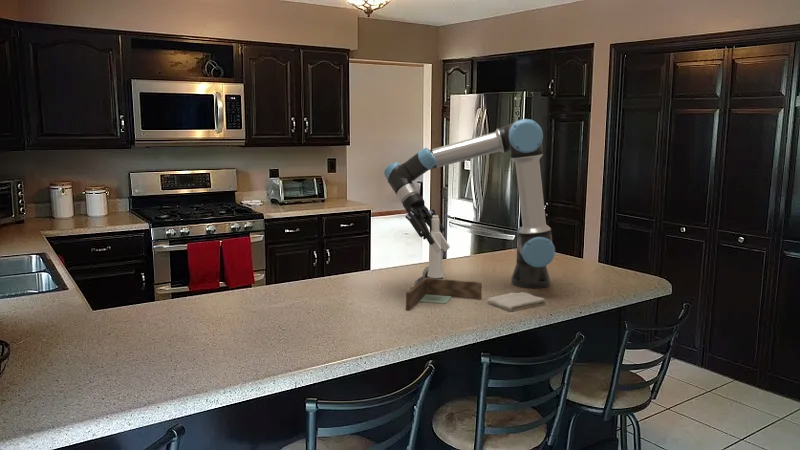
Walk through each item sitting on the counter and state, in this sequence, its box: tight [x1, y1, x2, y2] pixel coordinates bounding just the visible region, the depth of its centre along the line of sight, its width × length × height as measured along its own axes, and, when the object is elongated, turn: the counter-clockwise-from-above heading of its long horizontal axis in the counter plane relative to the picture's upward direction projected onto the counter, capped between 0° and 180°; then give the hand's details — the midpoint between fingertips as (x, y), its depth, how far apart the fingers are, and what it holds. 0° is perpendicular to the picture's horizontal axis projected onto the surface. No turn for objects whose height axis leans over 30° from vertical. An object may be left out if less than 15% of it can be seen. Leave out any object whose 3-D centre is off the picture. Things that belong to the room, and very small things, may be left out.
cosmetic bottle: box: [427, 214, 445, 278], centre depth 217 cm, size 6×6×22 cm
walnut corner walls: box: [405, 278, 483, 311], centre depth 214 cm, size 22×22×6 cm
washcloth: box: [486, 291, 546, 312], centre depth 215 cm, size 12×18×3 cm, turn 125°
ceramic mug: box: [414, 265, 444, 284], centre depth 241 cm, size 11×8×8 cm
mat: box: [418, 294, 453, 305], centre depth 220 cm, size 10×10×1 cm
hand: (443, 249), depth 215 cm, fingers closed on cosmetic bottle, 4 cm apart
